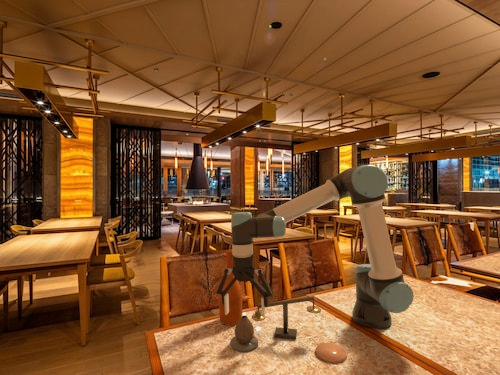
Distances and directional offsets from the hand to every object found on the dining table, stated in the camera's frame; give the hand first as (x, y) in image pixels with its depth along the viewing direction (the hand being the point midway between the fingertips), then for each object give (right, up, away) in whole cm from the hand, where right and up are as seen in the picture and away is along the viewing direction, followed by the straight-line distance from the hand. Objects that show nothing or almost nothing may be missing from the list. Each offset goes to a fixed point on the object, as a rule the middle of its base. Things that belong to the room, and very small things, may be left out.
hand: (245, 314), depth 100 cm
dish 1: (0, -11, 0) cm, 11 cm away
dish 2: (+29, -10, -7) cm, 31 cm away
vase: (0, -10, 0) cm, 10 cm away
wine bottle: (-6, -11, +18) cm, 22 cm away
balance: (+15, -11, +5) cm, 19 cm away
